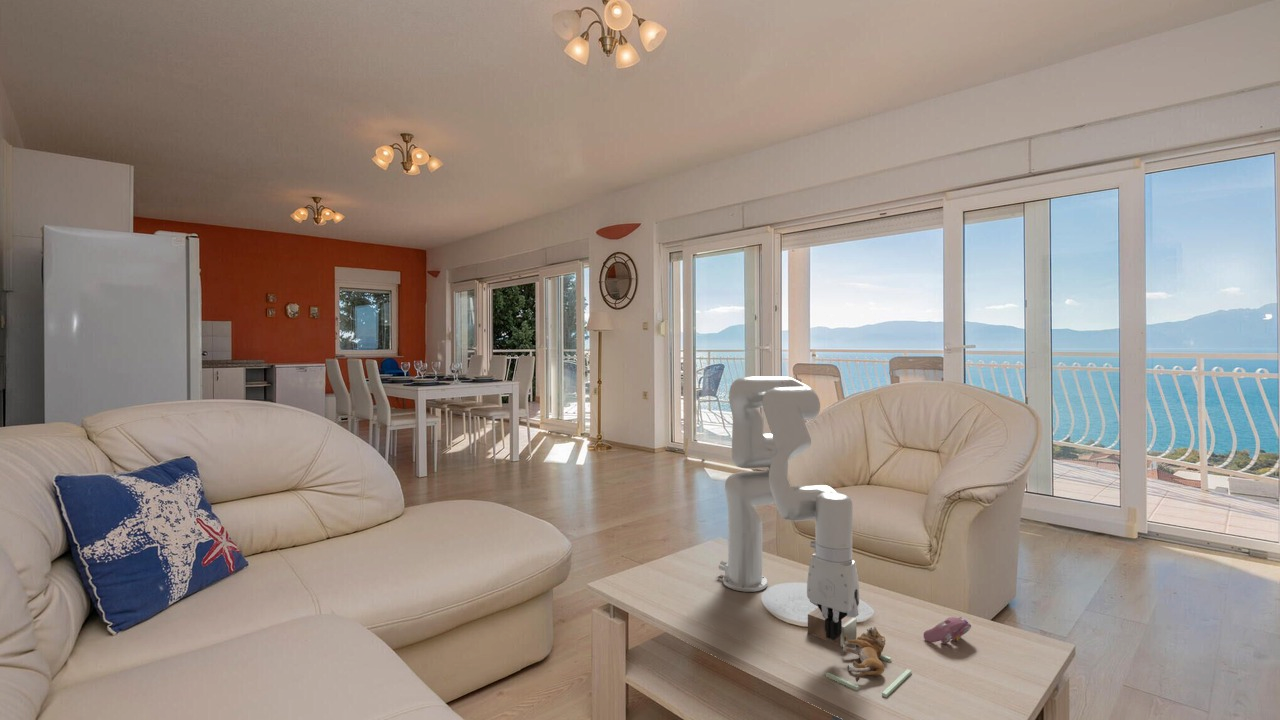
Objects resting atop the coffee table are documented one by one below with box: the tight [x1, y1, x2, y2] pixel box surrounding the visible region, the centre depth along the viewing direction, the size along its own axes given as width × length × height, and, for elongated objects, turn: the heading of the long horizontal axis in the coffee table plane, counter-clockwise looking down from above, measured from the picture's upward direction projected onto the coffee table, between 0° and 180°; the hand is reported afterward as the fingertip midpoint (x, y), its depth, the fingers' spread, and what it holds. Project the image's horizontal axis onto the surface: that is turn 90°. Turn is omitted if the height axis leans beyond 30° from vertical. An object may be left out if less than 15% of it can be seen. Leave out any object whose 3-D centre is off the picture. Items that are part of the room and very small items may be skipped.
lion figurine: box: [841, 626, 886, 683], centre depth 121 cm, size 15×5×9 cm
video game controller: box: [923, 616, 972, 645], centre depth 131 cm, size 10×5×7 cm, turn 115°
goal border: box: [825, 653, 912, 698], centre depth 118 cm, size 11×16×1 cm
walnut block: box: [807, 607, 858, 647], centre depth 134 cm, size 4×6×9 cm
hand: (833, 636), depth 124 cm, fingers closed
